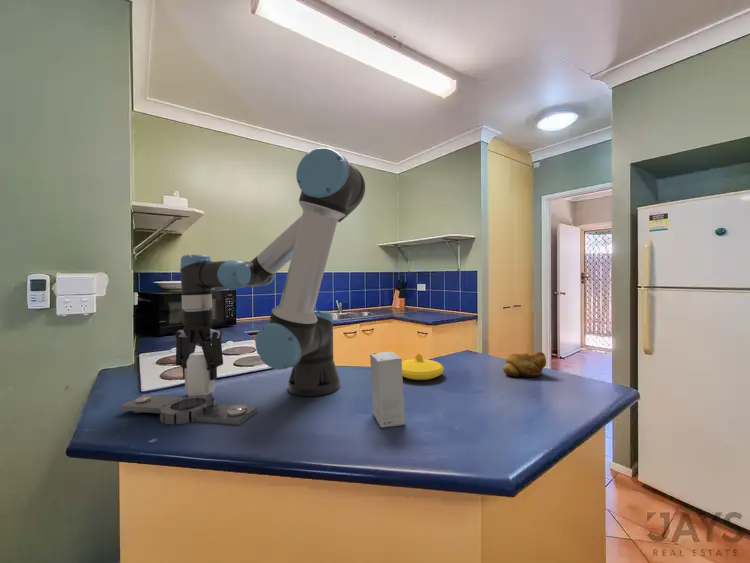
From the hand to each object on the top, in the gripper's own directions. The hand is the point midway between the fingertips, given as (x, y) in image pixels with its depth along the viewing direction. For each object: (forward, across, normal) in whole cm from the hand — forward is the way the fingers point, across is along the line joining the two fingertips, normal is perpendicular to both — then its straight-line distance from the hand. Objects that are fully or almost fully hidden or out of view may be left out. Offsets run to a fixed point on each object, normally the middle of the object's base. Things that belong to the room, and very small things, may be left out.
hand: (200, 390), depth 92 cm
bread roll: (+2, -93, -33) cm, 98 cm away
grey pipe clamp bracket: (+1, -6, +11) cm, 13 cm away
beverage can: (+2, 0, 0) cm, 2 cm away
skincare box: (+2, -55, +6) cm, 55 cm away
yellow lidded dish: (+2, -60, -26) cm, 65 cm away
